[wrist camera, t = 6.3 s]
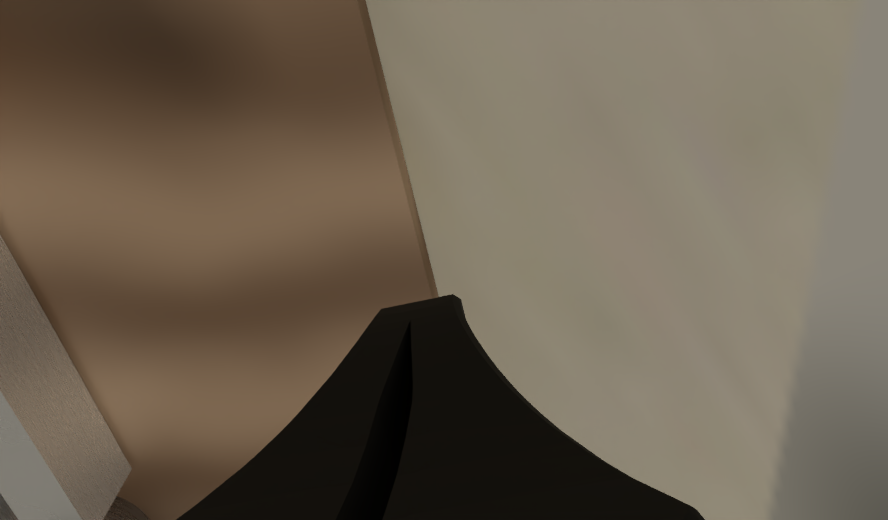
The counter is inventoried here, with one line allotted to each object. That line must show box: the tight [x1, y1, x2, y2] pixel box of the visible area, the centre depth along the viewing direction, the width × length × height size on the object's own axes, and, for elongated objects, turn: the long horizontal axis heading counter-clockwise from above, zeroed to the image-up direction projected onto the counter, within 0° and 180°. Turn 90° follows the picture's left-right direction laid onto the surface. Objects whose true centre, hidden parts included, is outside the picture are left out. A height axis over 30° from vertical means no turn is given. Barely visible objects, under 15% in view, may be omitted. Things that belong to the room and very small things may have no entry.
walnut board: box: [0, 0, 438, 520], centre depth 19 cm, size 19×24×2 cm
